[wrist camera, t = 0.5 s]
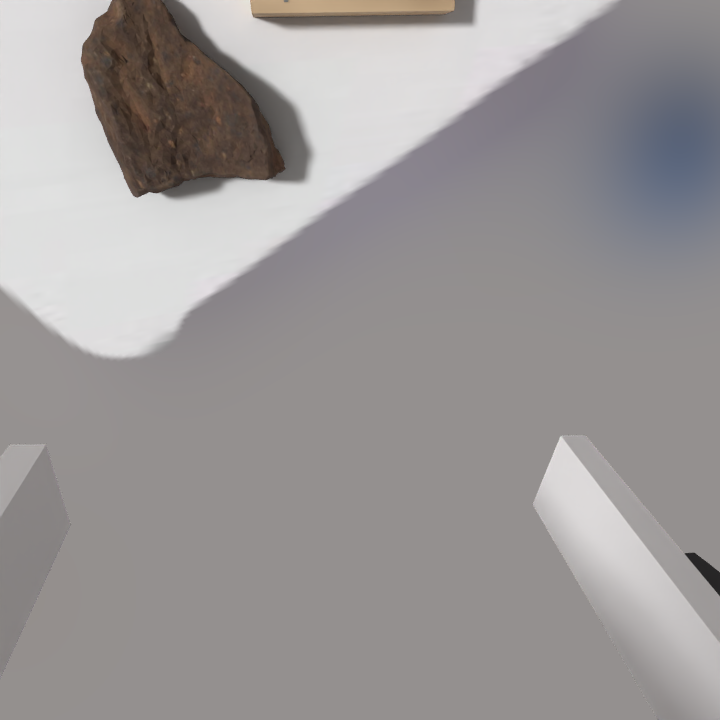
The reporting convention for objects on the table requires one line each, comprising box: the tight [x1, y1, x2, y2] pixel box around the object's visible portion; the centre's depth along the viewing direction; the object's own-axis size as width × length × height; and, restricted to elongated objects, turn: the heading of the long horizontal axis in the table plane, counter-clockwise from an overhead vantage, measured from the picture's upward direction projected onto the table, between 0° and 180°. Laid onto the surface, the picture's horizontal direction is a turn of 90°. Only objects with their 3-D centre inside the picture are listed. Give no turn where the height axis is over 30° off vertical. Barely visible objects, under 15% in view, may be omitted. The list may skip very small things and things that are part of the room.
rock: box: [81, 0, 285, 197], centre depth 29 cm, size 11×10×4 cm
